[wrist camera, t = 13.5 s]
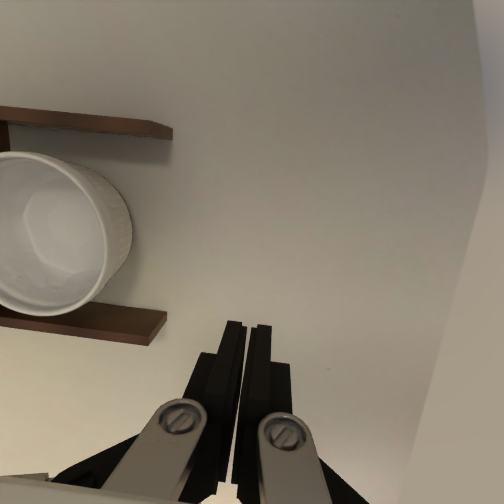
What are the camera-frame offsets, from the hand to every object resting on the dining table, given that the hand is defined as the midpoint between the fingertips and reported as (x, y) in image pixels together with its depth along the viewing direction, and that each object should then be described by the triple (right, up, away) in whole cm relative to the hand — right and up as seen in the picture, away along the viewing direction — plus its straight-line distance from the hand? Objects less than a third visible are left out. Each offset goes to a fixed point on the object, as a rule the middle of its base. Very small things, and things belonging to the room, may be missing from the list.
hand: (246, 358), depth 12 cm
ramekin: (-17, +7, +20) cm, 27 cm away
